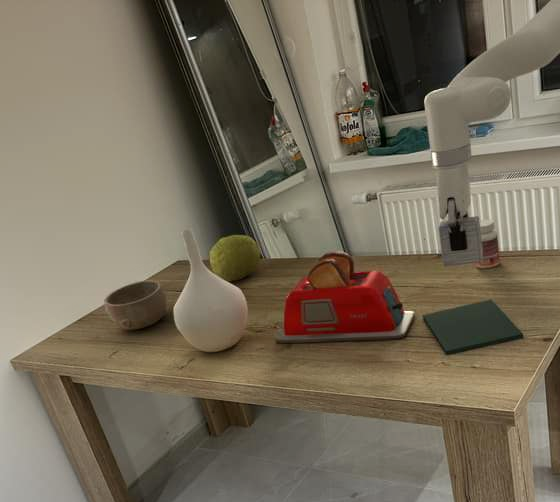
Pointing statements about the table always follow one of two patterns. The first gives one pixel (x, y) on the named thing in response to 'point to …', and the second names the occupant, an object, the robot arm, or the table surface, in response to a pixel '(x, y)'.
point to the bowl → (136, 304)
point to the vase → (209, 306)
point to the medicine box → (473, 243)
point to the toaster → (343, 305)
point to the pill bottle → (489, 245)
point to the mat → (471, 327)
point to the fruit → (234, 257)
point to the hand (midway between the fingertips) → (461, 244)
